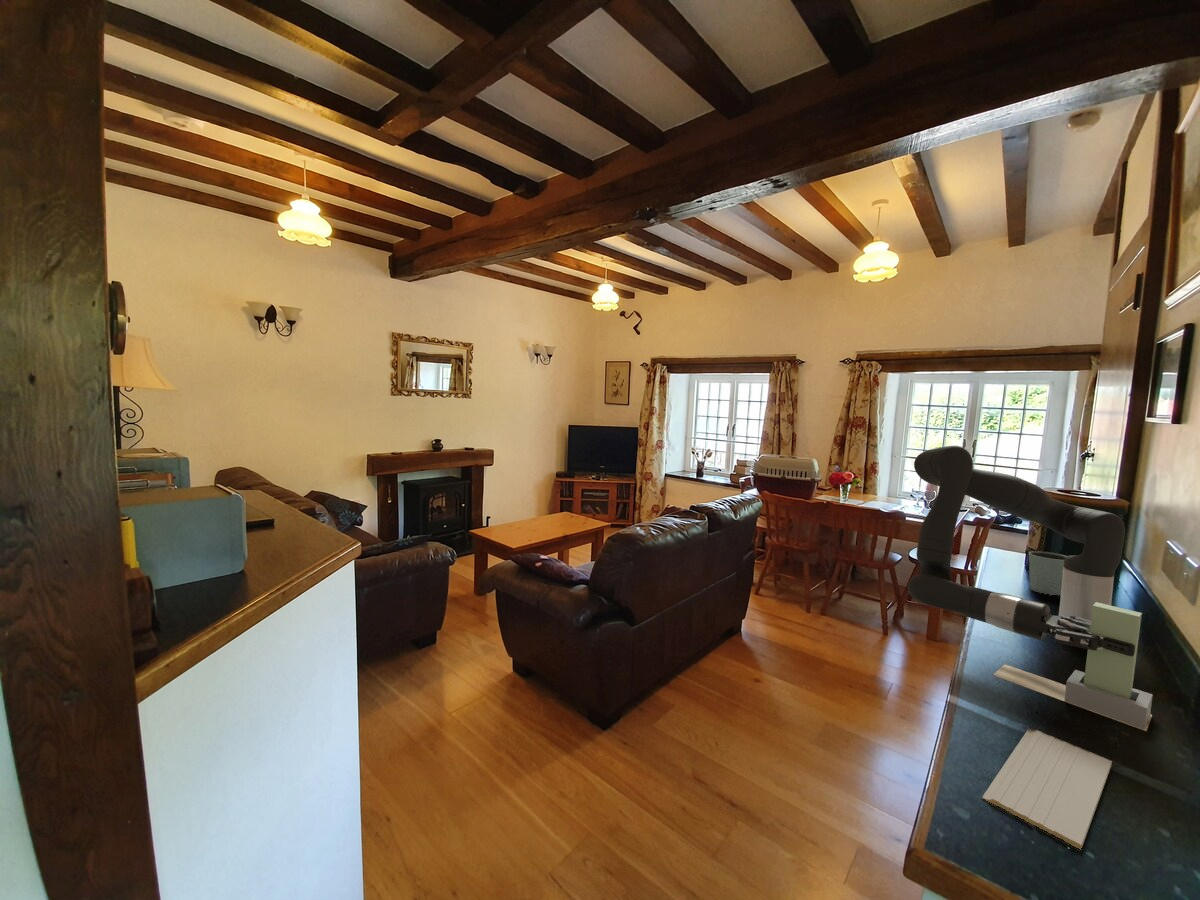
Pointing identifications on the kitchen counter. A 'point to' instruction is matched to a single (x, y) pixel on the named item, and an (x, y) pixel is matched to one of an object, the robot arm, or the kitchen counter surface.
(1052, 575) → the grey-green pot
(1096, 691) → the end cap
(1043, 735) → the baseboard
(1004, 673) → the board
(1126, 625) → the slat
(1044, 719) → the kitchen counter surface
